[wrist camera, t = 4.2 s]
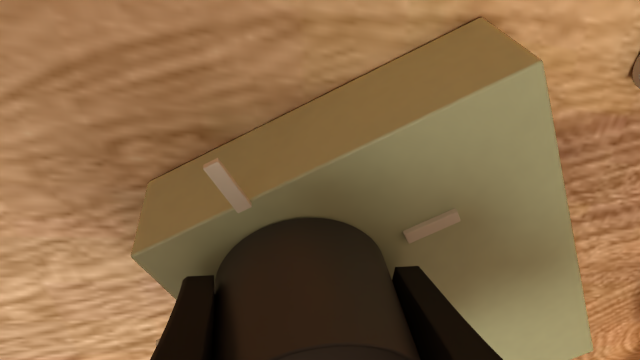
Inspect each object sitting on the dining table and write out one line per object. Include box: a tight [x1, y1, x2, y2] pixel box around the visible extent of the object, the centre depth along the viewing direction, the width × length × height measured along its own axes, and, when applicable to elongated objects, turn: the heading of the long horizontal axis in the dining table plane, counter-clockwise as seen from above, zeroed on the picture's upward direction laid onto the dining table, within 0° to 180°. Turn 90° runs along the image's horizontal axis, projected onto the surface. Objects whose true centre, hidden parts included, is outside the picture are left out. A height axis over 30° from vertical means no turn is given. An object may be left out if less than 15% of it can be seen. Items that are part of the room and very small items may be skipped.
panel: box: [131, 17, 593, 360], centre depth 15 cm, size 13×11×3 cm
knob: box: [212, 218, 421, 360], centre depth 11 cm, size 4×4×4 cm
